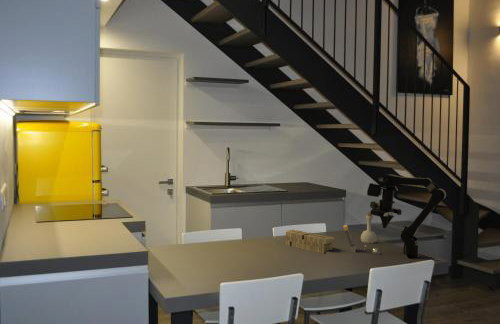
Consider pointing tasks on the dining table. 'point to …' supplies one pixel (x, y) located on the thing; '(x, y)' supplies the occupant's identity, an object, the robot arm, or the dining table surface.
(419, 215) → the robot arm
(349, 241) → the orange plate
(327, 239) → the block tower
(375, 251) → the switch panel
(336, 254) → the dining table surface
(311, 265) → the dining table surface
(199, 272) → the dining table surface
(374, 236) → the potion bottle
